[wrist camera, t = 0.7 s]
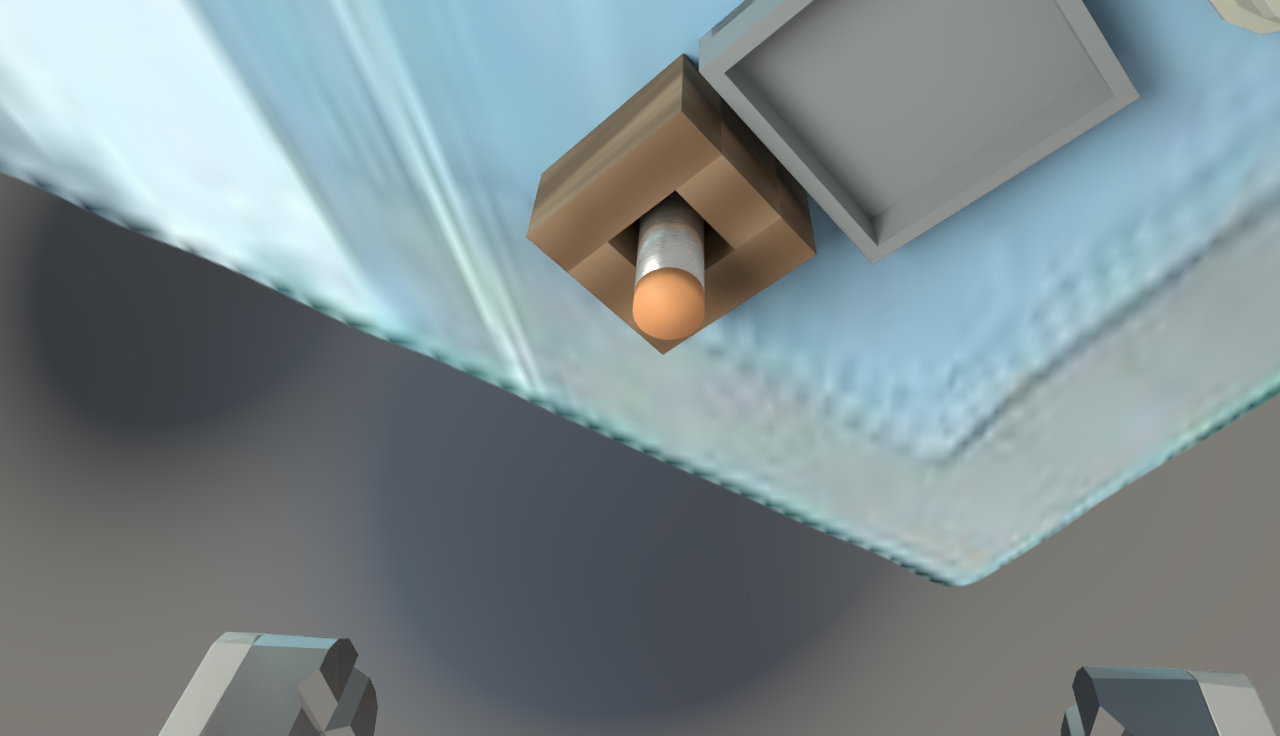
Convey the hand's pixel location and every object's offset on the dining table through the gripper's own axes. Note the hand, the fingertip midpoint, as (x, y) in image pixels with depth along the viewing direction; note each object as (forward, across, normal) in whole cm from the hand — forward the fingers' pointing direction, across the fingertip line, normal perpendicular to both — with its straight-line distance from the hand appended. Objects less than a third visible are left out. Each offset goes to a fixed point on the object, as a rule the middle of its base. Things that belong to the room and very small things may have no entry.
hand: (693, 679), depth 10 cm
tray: (+39, -6, +6) cm, 40 cm away
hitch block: (+39, +5, +12) cm, 41 cm away
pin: (+39, +5, +12) cm, 41 cm away
